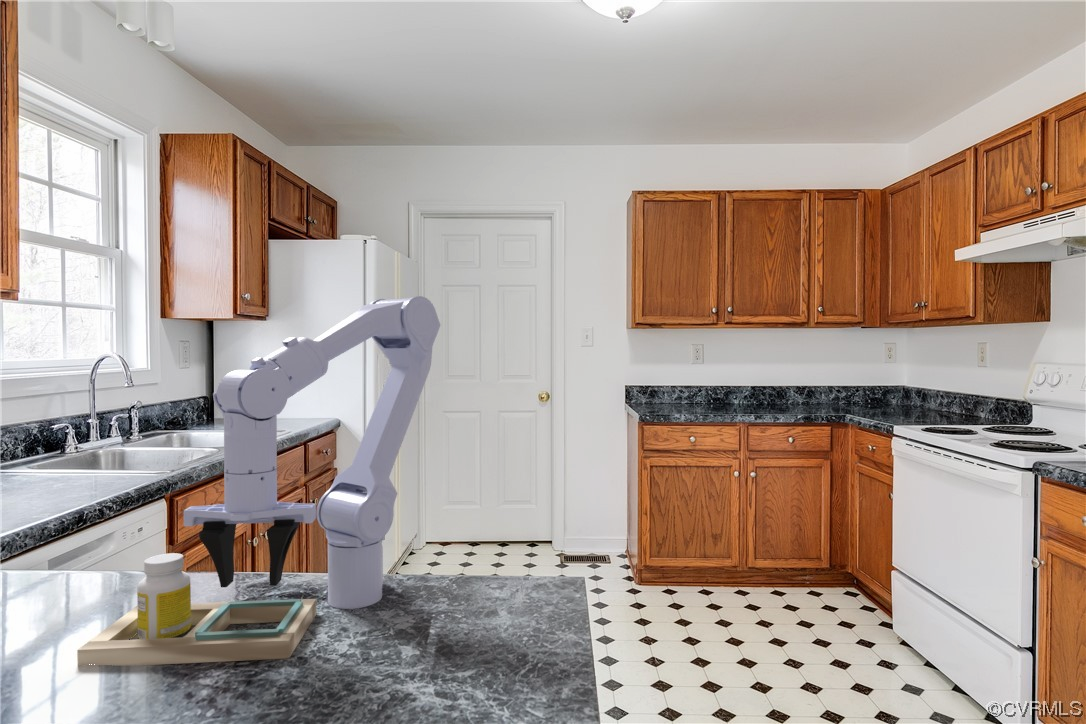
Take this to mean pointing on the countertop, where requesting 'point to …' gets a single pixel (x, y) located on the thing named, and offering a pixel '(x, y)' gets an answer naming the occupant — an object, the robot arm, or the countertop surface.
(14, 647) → the countertop surface
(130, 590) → the countertop surface
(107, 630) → the panel
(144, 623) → the supplement bottle
